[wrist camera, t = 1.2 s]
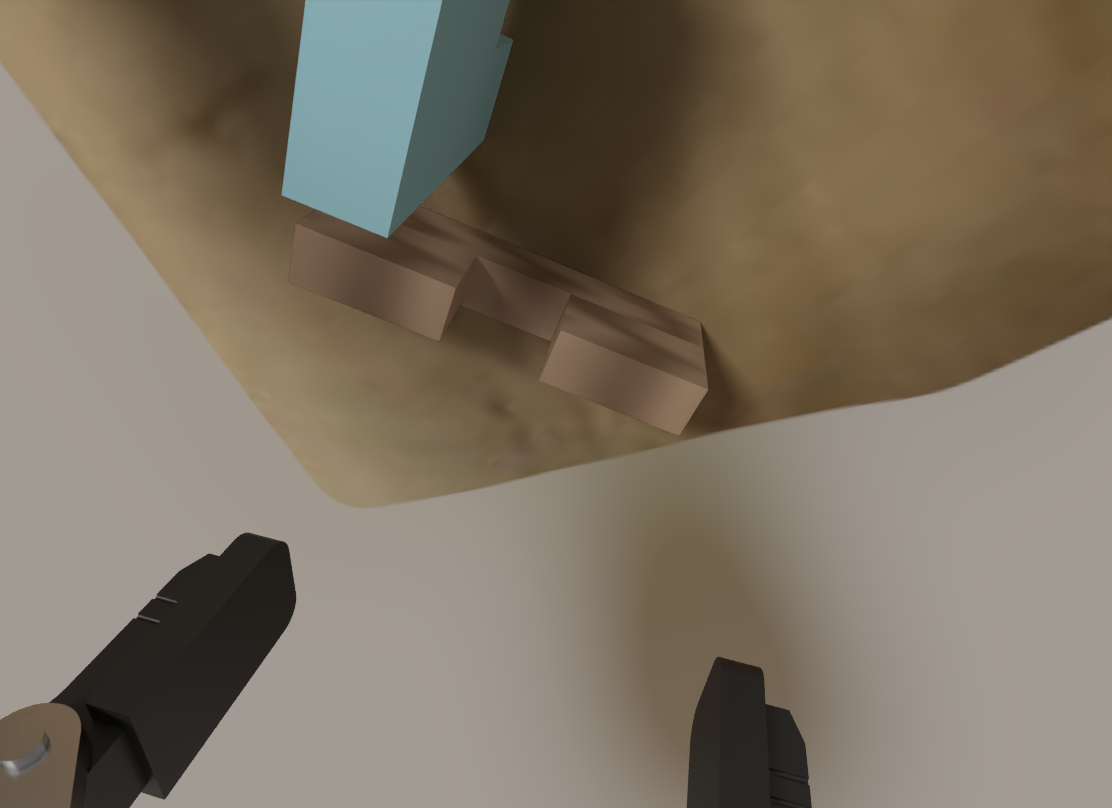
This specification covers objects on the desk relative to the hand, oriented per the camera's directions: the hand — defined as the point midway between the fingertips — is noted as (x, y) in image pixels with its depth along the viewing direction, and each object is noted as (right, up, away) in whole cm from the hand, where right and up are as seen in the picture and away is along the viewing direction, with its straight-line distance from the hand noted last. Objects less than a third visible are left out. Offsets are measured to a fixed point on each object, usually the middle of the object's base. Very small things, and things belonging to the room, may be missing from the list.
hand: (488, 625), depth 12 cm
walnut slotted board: (-1, +11, +24) cm, 27 cm away
